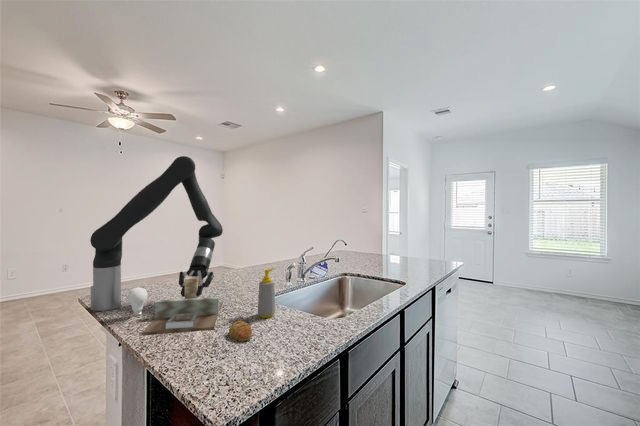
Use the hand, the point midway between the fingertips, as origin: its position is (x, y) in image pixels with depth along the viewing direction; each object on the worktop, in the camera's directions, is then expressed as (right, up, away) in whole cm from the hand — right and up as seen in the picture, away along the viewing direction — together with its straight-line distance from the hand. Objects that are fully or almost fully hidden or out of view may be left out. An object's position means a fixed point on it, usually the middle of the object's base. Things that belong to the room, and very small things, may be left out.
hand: (190, 295), depth 113 cm
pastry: (+25, -8, -19) cm, 33 cm away
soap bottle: (+30, -7, -2) cm, 31 cm away
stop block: (0, -5, +2) cm, 6 cm away
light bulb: (-18, -7, -4) cm, 20 cm away
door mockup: (+1, -7, -5) cm, 9 cm away
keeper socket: (+3, -7, -13) cm, 15 cm away
